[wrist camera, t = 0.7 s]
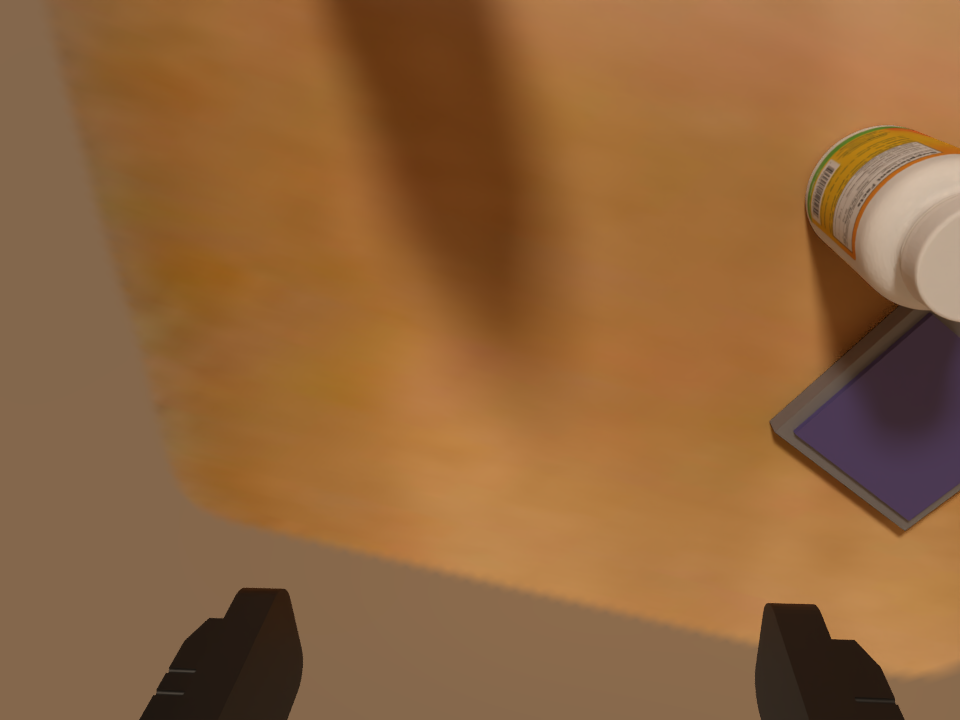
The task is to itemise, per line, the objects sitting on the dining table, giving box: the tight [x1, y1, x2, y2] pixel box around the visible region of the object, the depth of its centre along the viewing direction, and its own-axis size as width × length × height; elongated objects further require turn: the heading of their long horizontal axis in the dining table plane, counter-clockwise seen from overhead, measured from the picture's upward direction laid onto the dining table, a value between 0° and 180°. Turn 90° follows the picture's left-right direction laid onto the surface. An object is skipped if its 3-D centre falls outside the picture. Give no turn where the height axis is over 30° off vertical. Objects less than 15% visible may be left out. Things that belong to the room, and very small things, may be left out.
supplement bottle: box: [805, 125, 960, 322], centre depth 28 cm, size 5×5×10 cm
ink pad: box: [769, 305, 960, 531], centre depth 36 cm, size 9×9×1 cm
